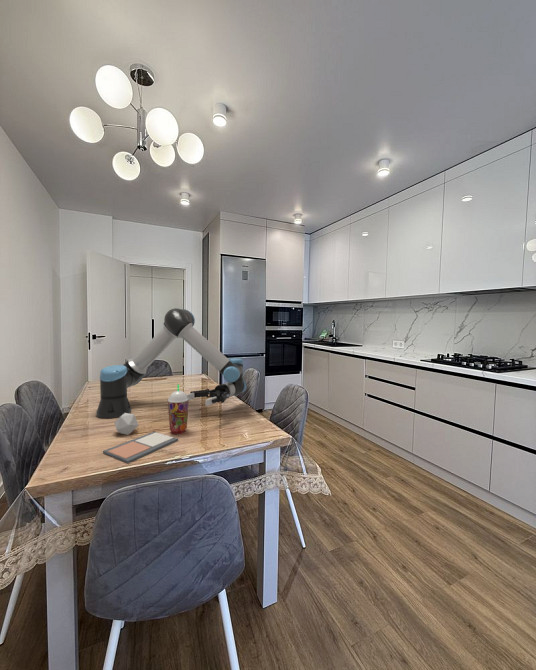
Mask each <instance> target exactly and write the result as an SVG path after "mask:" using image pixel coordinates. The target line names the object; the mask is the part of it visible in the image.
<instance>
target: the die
mask: <svg viewBox="0 0 536 670" xmlns="http://www.w3.org/2000/svg"><path fill="white" fill-rule="evenodd" d="M114 424H115V425H114V426H115V430H116V431H117V433H118V434H121V435H125V436H130V434H131V433H132V432H133V431H135V429H137V428H138V427H139V423H138V420H137V417H136V415H135V414H134V413H124V414H123V415H122V416H121V417H117V419H116V420H115V421H114Z"/></svg>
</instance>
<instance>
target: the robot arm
mask: <svg viewBox="0 0 536 670" xmlns="http://www.w3.org/2000/svg"><path fill="white" fill-rule="evenodd" d="M163 321H164V322H163V323H162V325H163V327H162V328H161V329H160V330H159V332H157V334H155V335H154V336H153V337H152V339H151V340H150V341H149V342H148V343H147V344H146V345H145V346H144V347H143V348H142V349H141V350H140V351H139V352H138V353H137V354H136V355H135V356H134V357H133V358H132V357H131V358H128V359H127V360H126V361H125V362H124V364H114V365H109V366H108V365H107V366H106V367H103V368H101V370H100V371H99V372H100V375H99V383H100V384H99V386H100V389H99V390H100V401H99V404H98V405H97V406H98V407H97V409H96V417H97V418H98V419H114V418H119V417H121V416H122V415H123V414H124V413H129V414H132V406H131V404H130V400H129V398H128V388H130V387H132V386H135V385H137V384H139V383H140V382H141V381H142V380H143V378H144V377H145V375H146V373H147V369H148V367H149V366H151V364H152V363H154V361H155V360H157V358H159V356H160V355H161V354H162V353H163V352H164V351H165V349H167V348H168V347H169V346H170V345H171V343H173V342H174V341H175V340H176V339H178V338H179V339H183V341H184V342H186V343H187V345H189V346H190V348H192V349H193V350H195V351H196V352H197V353H198V354H199V355H200V356H201V357H203V358H204V359H205V360H206V362H208V363H209V364H210V365H211V366H212V367H214V369H215V370H217V371H218V372H219V373H220V374H221V375H222V377H223V379H224V380H225V382H224V383H222V384H218V385H216V386H215V387H214V389H209V388H206V389H201V390H192V391H191V390H190V393H186V395H187V397H188V398H189V400H188V401H190V400H194V399H195V398H197V399H198V398H207V399H205V404H204V405H205V406H204V407H209V406H211V405H214V404H217V403H222V404H223V403H224V404H225V401H226V400H227V399H230V398H231V397H234V396H237V395H241V394H242V393H244V392H245V391H246V390H247V388H248V387H247V383H246V381H245V380H244V377H243V376H244V375H243V374H244V372H243V371H244V361H243V360H244V359H242V358H240V357H239V358H236V357H234V358H228V357H227V356H226V355H225V354H224V353H222V352H221V351H220V350H219V349H218V348H217V347H216V346H215V345H213V343H211V342H210V341H209V340H208V339H207V338H206V336H204V335H203V334H201V333H200V332H199V331H198V330H197V329H195V327H194V326H195V324H196V323H195V321H196V318H195V316H194V314H193V313H192V312H191V311H189V310H188V309H184V308H182V309H181V308H178V307H177V308H171V309H169V310H168V311H166V313H165V316H164V319H163Z"/></svg>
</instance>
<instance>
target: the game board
mask: <svg viewBox="0 0 536 670" xmlns="http://www.w3.org/2000/svg"><path fill="white" fill-rule="evenodd" d="M178 441H179V438H177V437H174V436H171V435H167V434H164V433H160V432H158V431H157V432H156V431H151V432H149V433H146V434H143V435H141V436H139V437H136V438H134V439H130V440H128V441H125V442H122V443H120V444H118V445H115V446H112V447H110V448H107V449H105V450H103V451H102V454H104V455H106V456H108V457H111V458H114V459H116V460H118V461H121V462H123V463H126V464H130V463H133V462H134V461H136V460H138V459H141V458H144V457H145V456H148V455H149V454H152V453H154V452H157V451H158V450H161V449H163V448H165V447H168V446H169V445H172V444H174V443H176V442H178Z"/></svg>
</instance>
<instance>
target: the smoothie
mask: <svg viewBox="0 0 536 670" xmlns="http://www.w3.org/2000/svg"><path fill="white" fill-rule="evenodd" d="M176 386H177V390H175V391H173V392H172V393H171V394H170V395H169V397H168V399H167V409H168V421H169V431H170V432H171V433H172V434H174V435H179V434H183V433H185V432H186V430H187V429H188V428H187V427H188V414H189V401H190V400H189V398H188V397H187V393H185V392H184V391H183V390H180V384H178V383H177V385H176Z"/></svg>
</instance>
